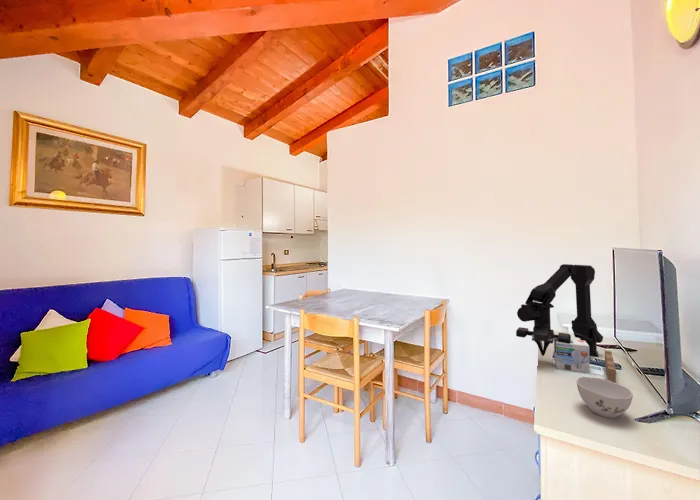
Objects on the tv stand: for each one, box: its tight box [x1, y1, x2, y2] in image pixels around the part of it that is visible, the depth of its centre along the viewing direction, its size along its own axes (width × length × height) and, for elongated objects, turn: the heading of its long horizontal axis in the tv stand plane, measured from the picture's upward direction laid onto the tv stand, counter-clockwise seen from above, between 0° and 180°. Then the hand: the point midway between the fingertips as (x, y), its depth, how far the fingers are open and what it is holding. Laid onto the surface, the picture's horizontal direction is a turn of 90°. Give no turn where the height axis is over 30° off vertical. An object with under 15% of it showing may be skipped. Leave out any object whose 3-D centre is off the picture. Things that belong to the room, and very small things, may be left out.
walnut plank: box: [604, 350, 617, 383], centre depth 107 cm, size 20×2×6 cm, turn 141°
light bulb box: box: [553, 338, 590, 374], centre depth 114 cm, size 11×7×11 cm, turn 62°
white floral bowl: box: [576, 376, 634, 419], centre depth 86 cm, size 15×12×8 cm
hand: (543, 355), depth 120 cm, fingers closed
